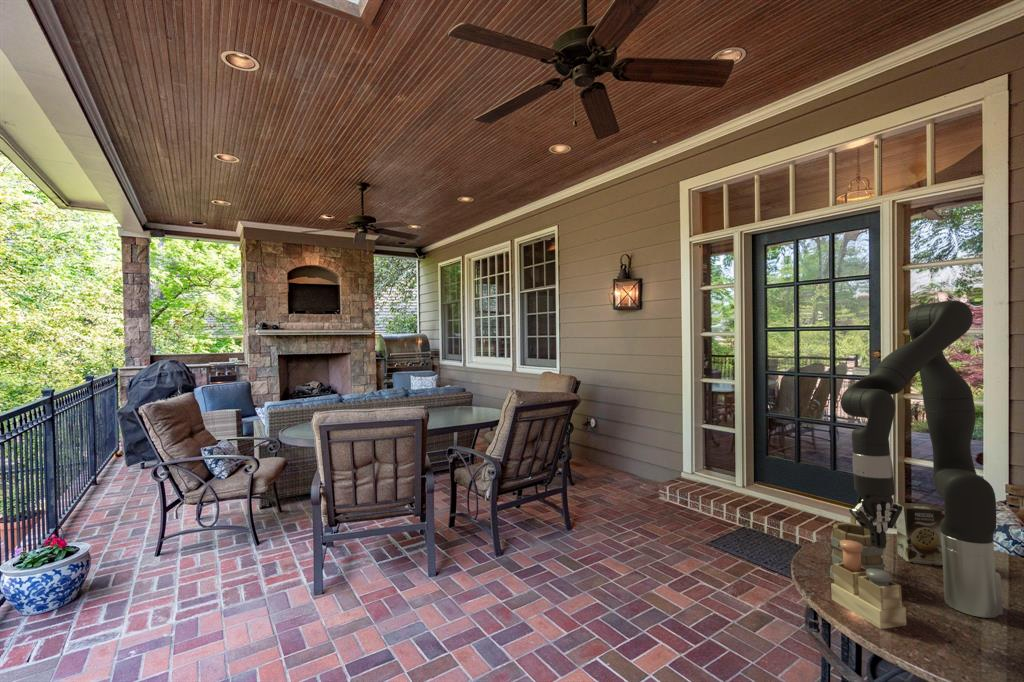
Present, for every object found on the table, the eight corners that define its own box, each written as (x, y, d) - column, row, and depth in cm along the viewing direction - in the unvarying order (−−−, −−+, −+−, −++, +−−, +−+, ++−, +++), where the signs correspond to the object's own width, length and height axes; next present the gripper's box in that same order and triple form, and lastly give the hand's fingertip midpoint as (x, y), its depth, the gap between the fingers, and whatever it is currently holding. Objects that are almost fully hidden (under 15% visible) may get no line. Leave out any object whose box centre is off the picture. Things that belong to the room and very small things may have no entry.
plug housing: (855, 596, 118) (853, 561, 118) (906, 625, 105) (904, 585, 105) (831, 599, 117) (830, 563, 117) (880, 629, 104) (878, 588, 104)
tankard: (889, 597, 117) (886, 538, 118) (829, 583, 125) (826, 528, 125) (885, 567, 133) (882, 515, 134) (832, 557, 141) (830, 507, 141)
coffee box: (908, 563, 135) (905, 508, 136) (897, 553, 142) (894, 501, 142) (946, 566, 133) (942, 510, 133) (933, 557, 139) (930, 503, 140)
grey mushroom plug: (879, 596, 110) (877, 567, 110) (898, 606, 106) (896, 576, 106) (862, 598, 109) (861, 569, 110) (881, 608, 105) (879, 578, 105)
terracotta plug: (852, 565, 117) (850, 539, 117) (868, 574, 113) (867, 546, 113) (836, 567, 116) (835, 540, 117) (852, 576, 112) (851, 548, 112)
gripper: (864, 479, 103) (870, 556, 103) (912, 473, 106) (918, 549, 105) (835, 471, 111) (841, 544, 110) (880, 466, 113) (886, 538, 112)
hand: (879, 546), depth 108 cm, fingers closed
